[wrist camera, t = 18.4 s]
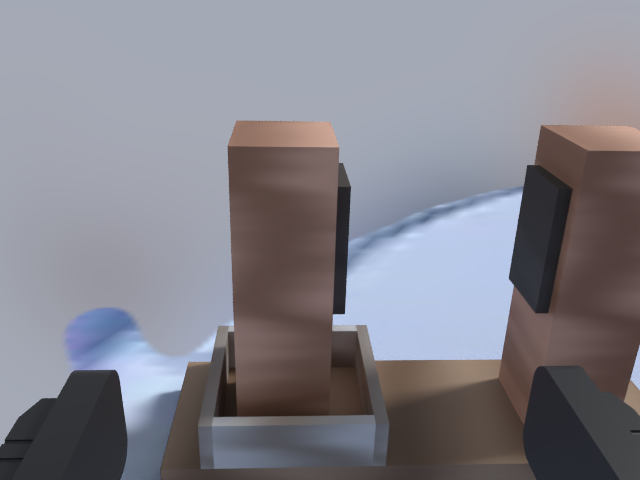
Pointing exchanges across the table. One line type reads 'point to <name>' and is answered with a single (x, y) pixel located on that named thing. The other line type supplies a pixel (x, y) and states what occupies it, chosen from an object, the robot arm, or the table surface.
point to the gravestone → (455, 375)
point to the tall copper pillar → (286, 263)
